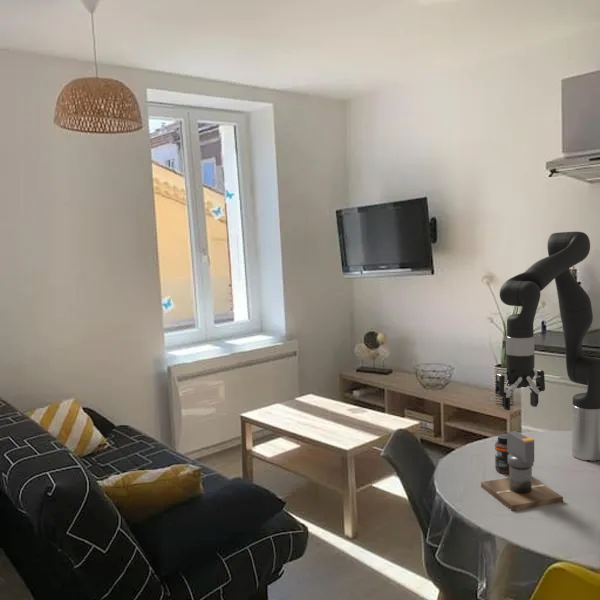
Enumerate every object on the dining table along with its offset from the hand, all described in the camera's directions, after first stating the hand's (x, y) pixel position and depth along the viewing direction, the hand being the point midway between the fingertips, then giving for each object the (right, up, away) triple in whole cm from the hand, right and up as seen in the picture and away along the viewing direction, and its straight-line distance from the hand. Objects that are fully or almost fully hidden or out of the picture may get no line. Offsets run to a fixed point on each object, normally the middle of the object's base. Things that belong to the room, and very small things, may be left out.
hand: (520, 407), depth 170 cm
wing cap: (+1, -16, +2) cm, 16 cm away
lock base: (+1, -26, +3) cm, 26 cm away
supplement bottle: (+2, -24, +20) cm, 31 cm away
